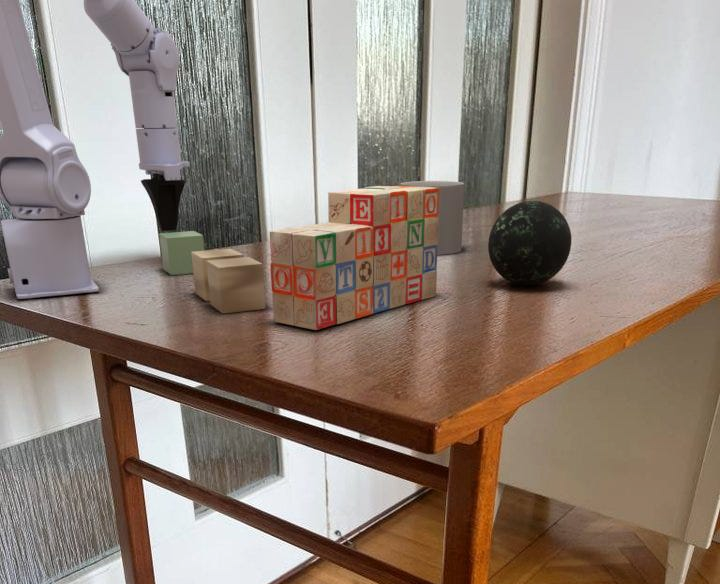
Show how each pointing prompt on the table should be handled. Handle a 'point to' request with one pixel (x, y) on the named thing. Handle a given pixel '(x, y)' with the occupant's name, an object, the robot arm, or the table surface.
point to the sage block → (179, 251)
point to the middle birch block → (201, 268)
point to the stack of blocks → (357, 257)
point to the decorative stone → (529, 243)
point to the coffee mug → (447, 213)
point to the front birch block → (236, 284)
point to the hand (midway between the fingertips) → (168, 230)
